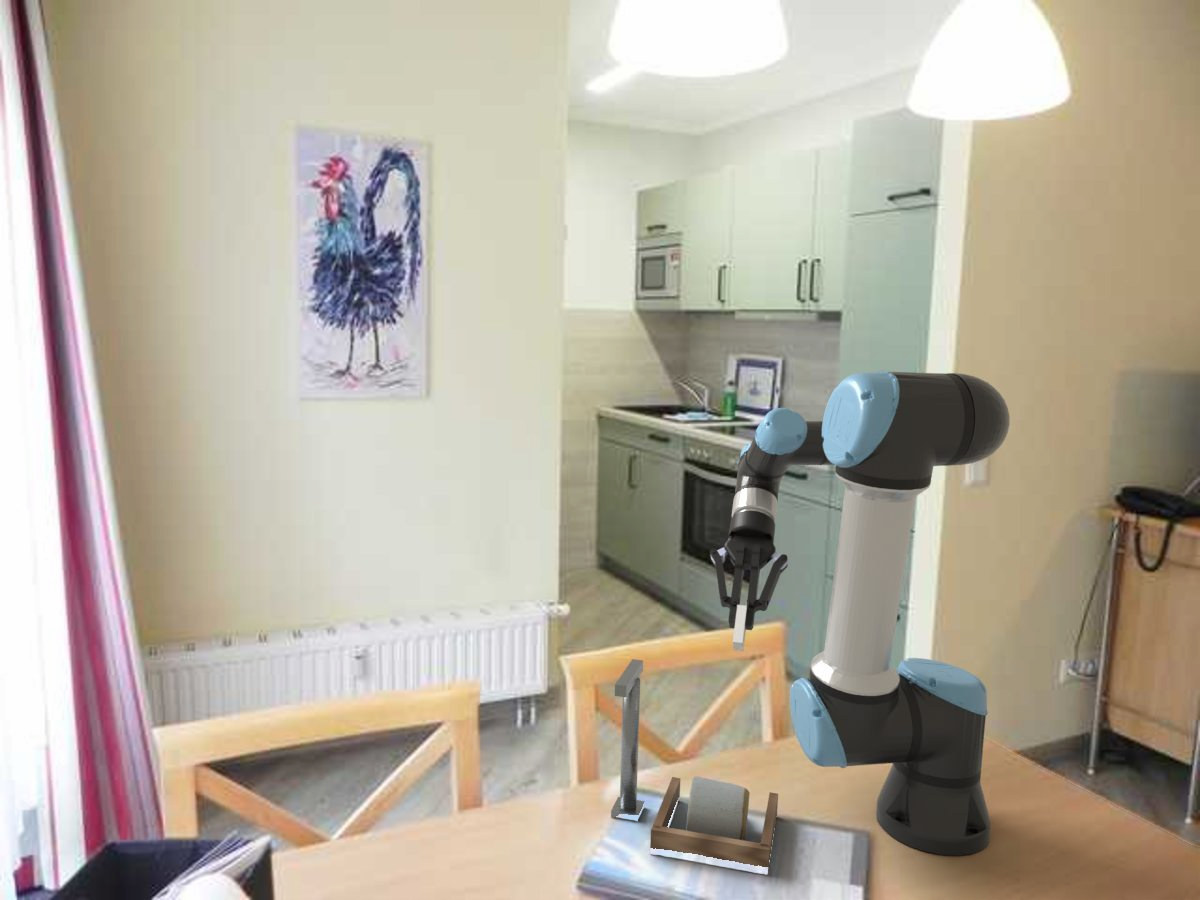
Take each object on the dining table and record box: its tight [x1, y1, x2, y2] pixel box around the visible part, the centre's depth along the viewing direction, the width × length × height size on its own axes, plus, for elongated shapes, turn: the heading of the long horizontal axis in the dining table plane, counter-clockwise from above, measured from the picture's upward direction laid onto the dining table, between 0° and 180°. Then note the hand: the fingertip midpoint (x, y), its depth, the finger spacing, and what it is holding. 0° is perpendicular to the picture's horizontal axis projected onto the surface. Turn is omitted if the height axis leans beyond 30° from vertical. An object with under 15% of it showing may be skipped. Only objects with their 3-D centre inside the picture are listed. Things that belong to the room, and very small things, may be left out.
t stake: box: [610, 658, 646, 819], centre depth 124 cm, size 4×10×22 cm, turn 164°
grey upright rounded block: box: [685, 775, 750, 840], centre depth 122 cm, size 11×8×8 cm
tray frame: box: [649, 776, 779, 868], centre depth 121 cm, size 15×15×4 cm
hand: (738, 646), depth 136 cm, fingers closed
